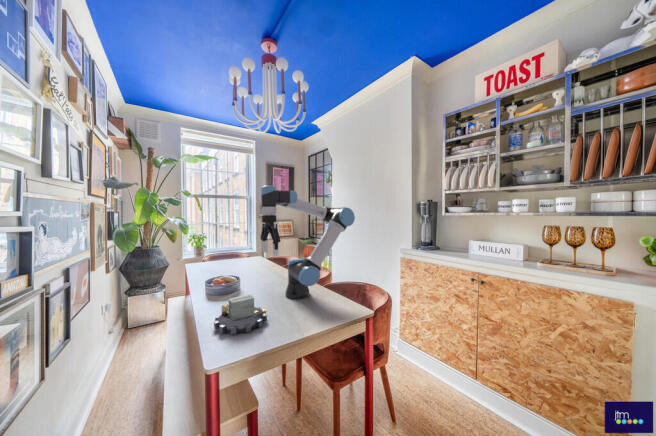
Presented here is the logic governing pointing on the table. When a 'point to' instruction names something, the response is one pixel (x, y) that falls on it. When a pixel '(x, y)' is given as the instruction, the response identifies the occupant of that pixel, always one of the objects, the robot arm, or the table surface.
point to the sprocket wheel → (239, 321)
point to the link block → (241, 307)
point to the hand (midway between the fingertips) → (270, 254)
